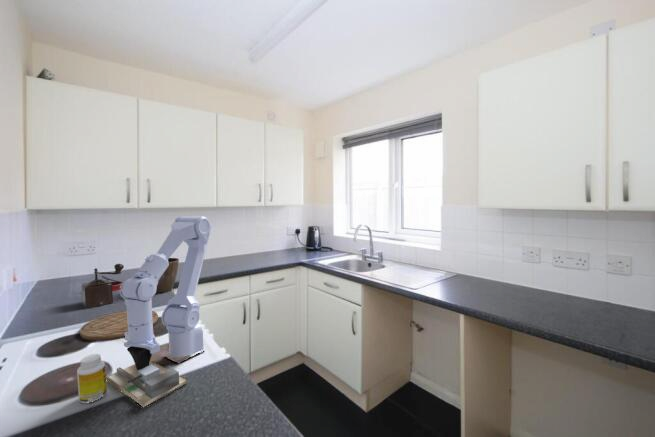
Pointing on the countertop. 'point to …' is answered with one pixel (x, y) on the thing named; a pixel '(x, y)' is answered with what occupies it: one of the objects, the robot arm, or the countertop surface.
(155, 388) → the gauge base
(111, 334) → the trivet
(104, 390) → the supplement bottle
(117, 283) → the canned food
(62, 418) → the countertop surface
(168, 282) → the plant pot
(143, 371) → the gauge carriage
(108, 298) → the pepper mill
